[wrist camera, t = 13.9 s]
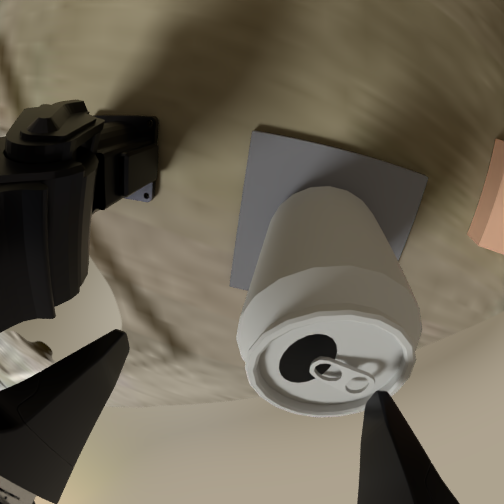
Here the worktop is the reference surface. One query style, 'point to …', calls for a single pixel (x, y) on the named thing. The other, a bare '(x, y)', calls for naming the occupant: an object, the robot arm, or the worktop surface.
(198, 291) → the worktop surface
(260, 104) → the worktop surface
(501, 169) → the tile
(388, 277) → the can
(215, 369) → the worktop surface
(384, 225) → the mat
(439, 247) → the worktop surface
